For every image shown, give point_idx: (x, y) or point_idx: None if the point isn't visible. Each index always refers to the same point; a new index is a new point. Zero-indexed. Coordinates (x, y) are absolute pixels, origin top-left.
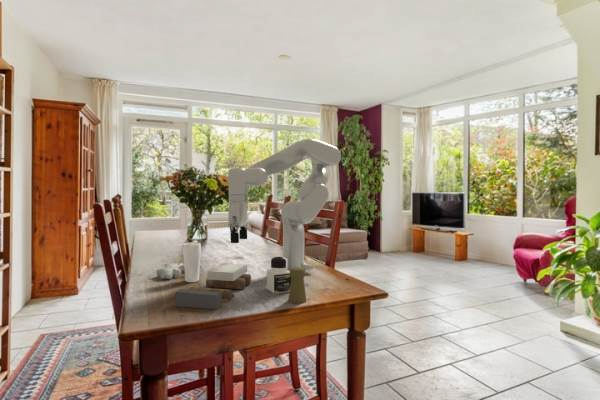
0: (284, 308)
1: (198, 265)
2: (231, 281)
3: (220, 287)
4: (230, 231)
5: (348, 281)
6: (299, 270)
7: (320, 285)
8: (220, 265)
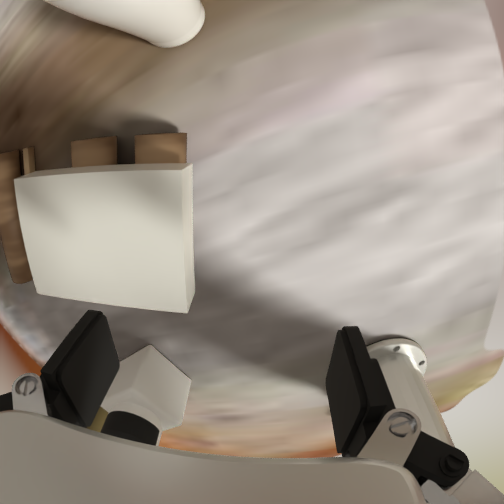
0: None
1: (137, 33)
2: None
3: None
4: (15, 385)
5: None
6: None
7: (231, 437)
8: (116, 182)
